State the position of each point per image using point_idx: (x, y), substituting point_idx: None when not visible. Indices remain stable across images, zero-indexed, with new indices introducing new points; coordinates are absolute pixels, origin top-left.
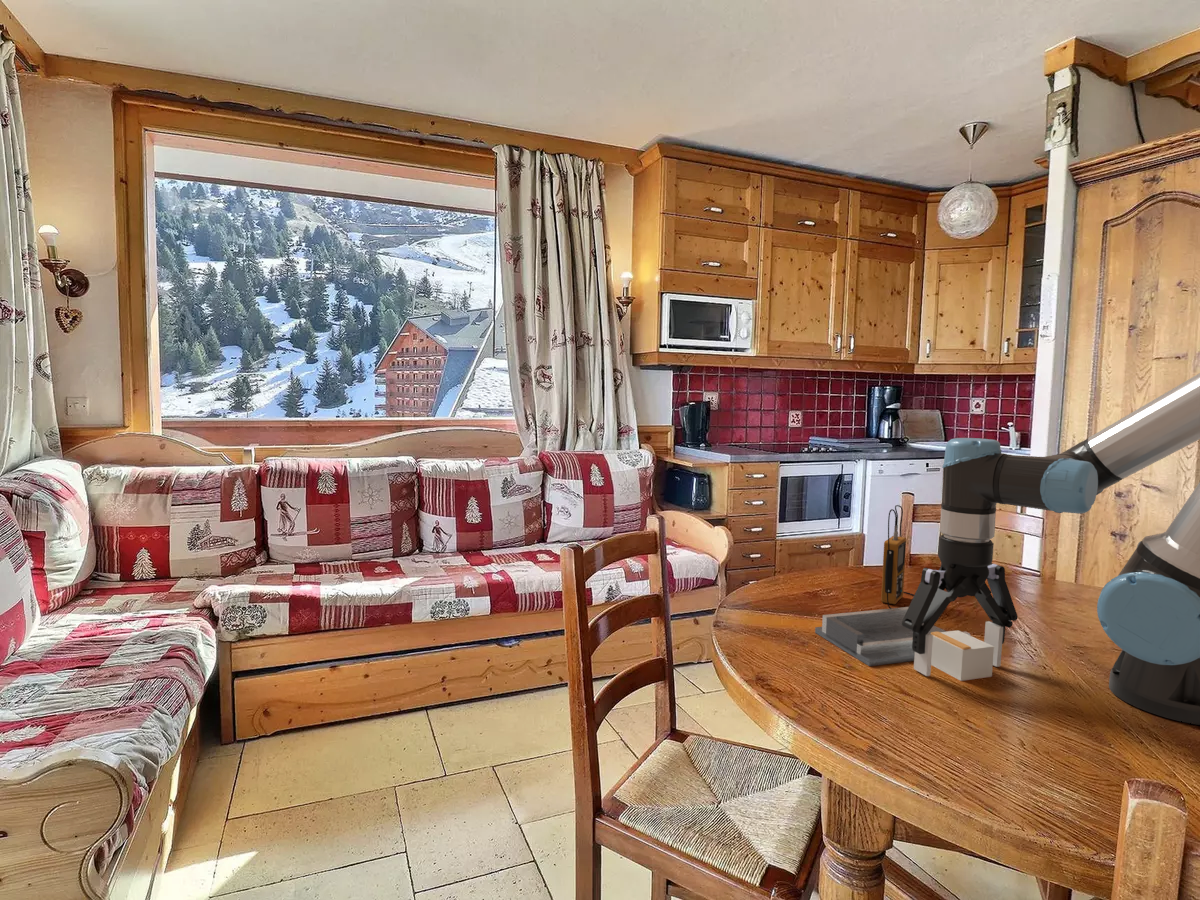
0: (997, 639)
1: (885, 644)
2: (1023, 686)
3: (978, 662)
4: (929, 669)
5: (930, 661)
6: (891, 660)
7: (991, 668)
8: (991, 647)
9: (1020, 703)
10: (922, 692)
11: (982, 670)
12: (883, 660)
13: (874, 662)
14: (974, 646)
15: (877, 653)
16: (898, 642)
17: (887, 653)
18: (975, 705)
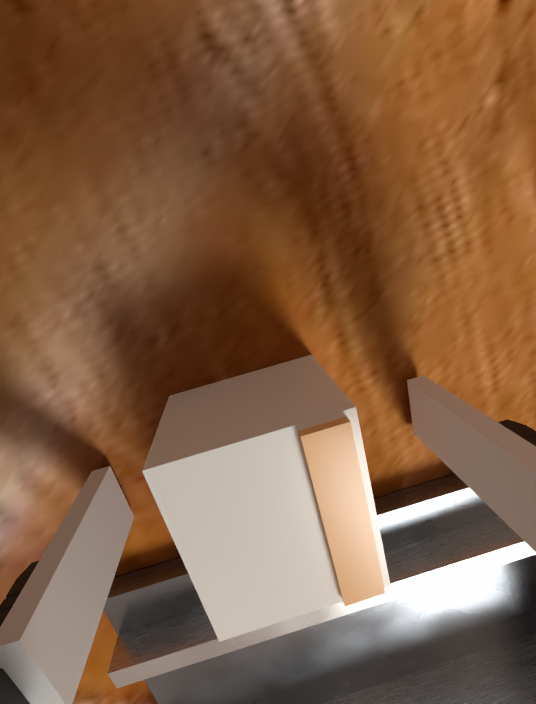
0: (64, 566)
1: (488, 547)
2: (84, 311)
3: (240, 403)
4: (424, 388)
5: (442, 402)
6: None
7: (168, 409)
8: (159, 463)
9: (188, 149)
10: (506, 257)
11: (215, 394)
12: None
13: None
14: (257, 462)
15: None
16: (435, 566)
17: (469, 514)
18: (386, 138)
